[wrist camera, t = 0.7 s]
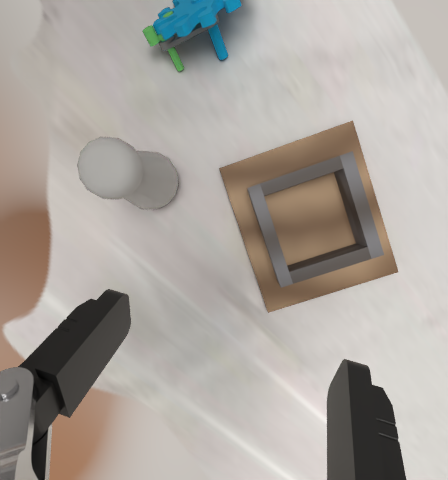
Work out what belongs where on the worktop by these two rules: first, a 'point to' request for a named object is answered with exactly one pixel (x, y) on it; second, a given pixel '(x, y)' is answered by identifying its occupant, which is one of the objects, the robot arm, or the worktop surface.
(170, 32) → the blue toy brick model
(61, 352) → the robot arm
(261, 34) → the worktop surface
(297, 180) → the socket board
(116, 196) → the salt shaker
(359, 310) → the worktop surface
